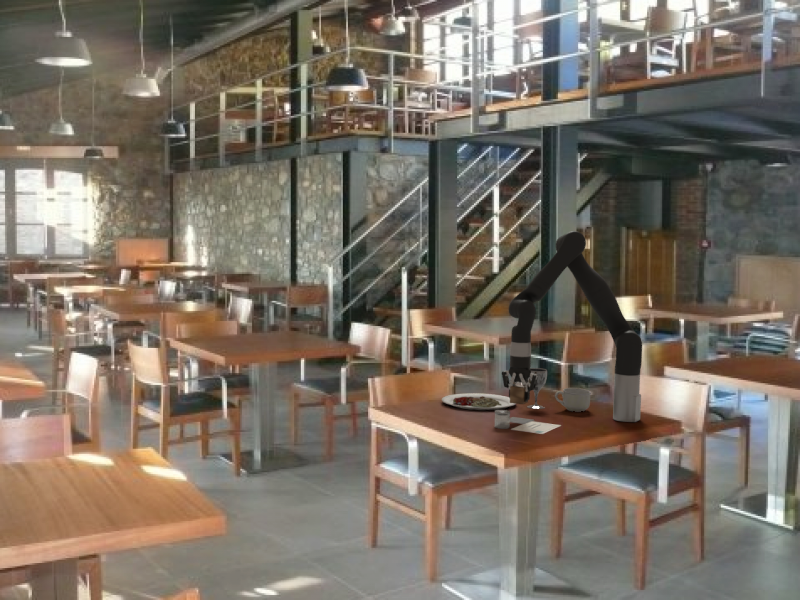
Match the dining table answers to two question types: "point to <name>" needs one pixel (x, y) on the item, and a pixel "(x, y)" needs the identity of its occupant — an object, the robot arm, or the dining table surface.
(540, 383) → the wine glass
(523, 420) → the coaster
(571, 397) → the teacup
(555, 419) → the dining table surface
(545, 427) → the envelope
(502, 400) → the plated food
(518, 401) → the walnut block
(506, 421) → the tin
